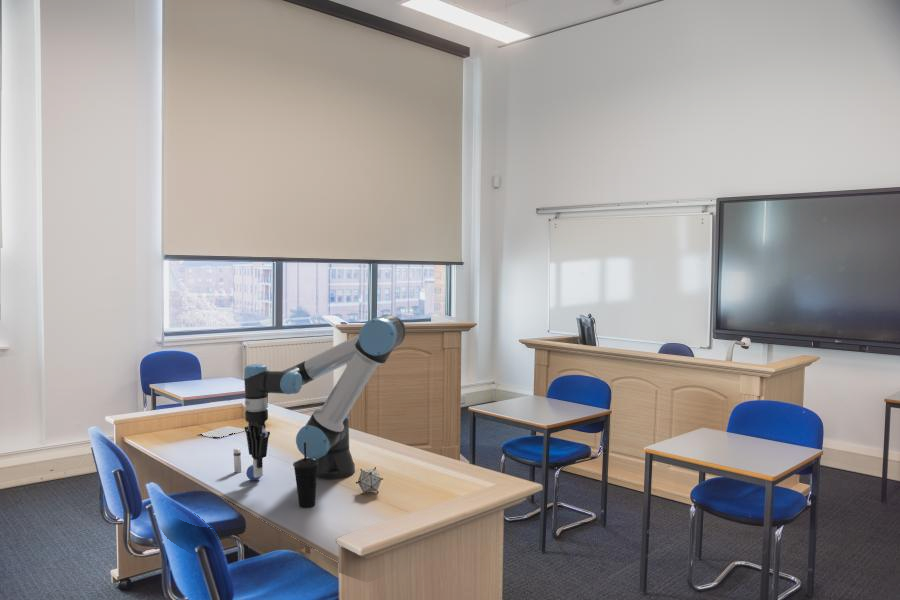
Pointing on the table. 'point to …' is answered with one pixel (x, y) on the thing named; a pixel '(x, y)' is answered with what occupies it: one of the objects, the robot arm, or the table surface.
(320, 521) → the table surface
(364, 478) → the game die
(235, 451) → the pin
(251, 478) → the ball
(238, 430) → the paper stack
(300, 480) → the drinking cup
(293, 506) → the table surface
